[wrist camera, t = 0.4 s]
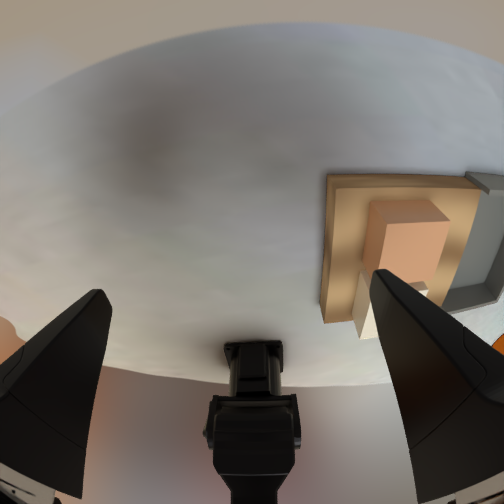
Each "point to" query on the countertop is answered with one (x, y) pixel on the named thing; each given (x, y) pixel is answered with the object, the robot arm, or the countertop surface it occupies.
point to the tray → (481, 251)
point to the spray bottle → (499, 344)
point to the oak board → (356, 220)
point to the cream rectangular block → (364, 308)
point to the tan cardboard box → (405, 238)
